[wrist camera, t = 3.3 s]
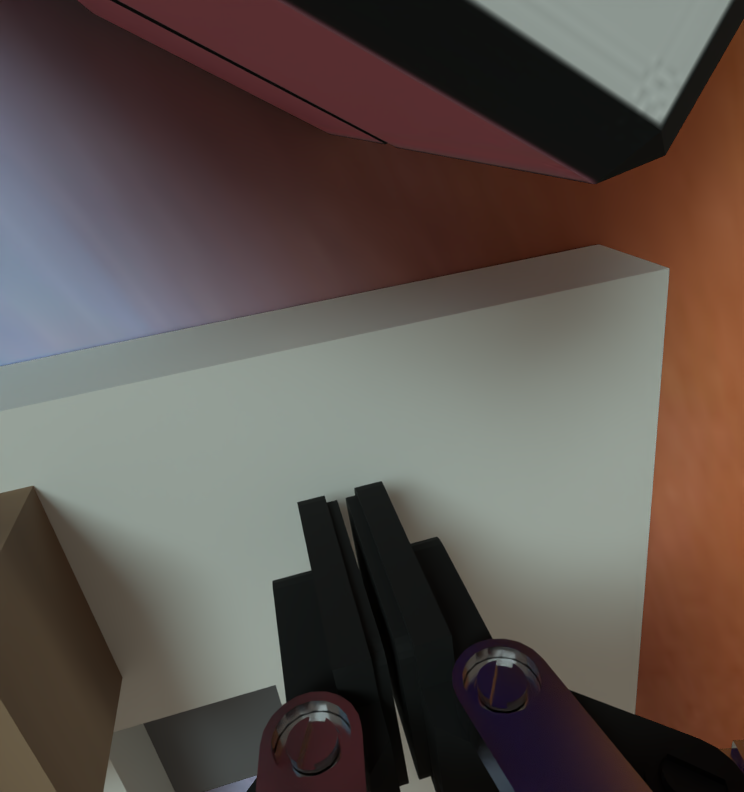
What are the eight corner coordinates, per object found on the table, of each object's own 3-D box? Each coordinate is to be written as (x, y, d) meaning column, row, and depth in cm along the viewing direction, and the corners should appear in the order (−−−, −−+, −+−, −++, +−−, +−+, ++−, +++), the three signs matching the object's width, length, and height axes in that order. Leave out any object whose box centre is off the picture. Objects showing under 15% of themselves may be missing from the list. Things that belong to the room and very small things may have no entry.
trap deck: (599, 244, 14) (798, 311, 9) (588, 663, 20) (704, 835, 16) (-711, 511, 11) (-1487, 844, 6) (-243, 919, 17) (-429, 1247, 12)
